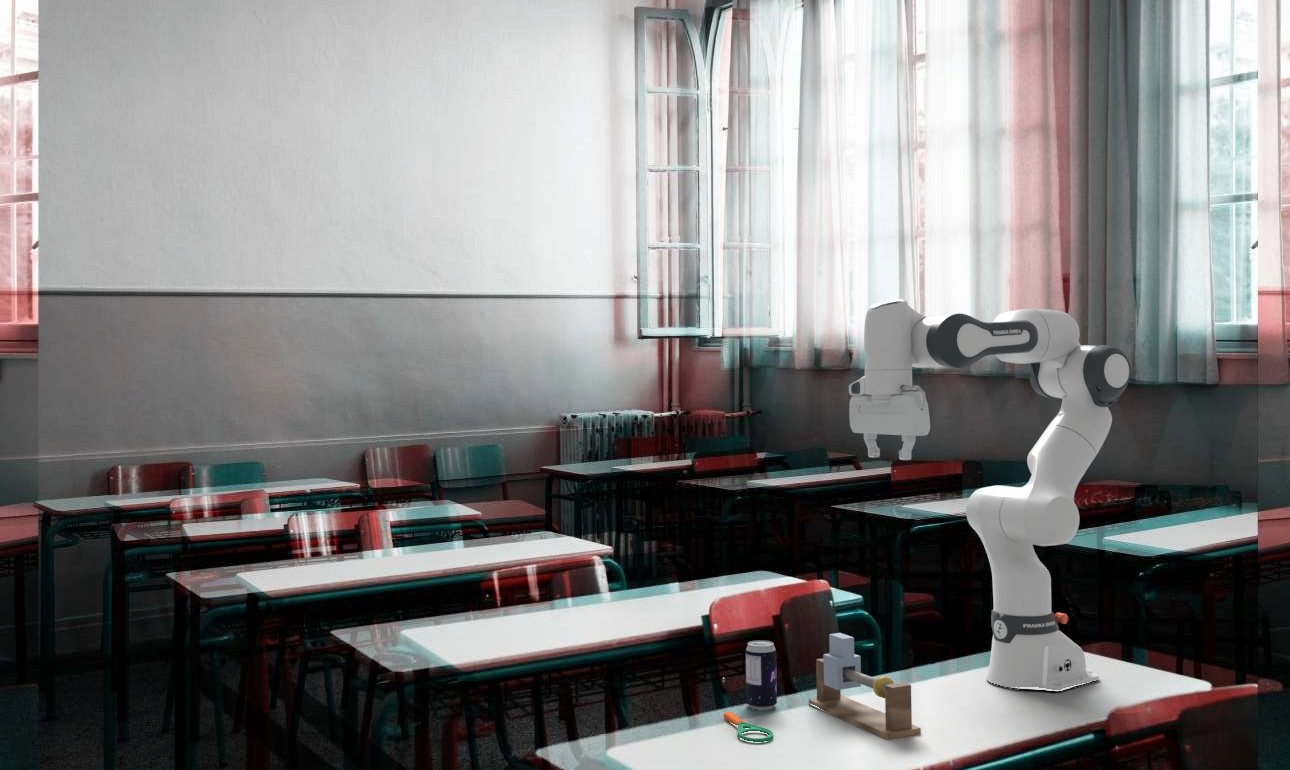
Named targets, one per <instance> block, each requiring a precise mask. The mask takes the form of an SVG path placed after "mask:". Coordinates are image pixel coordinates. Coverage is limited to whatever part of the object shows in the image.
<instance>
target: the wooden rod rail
mask: <svg viewBox="0 0 1290 770" xmlns="http://www.w3.org/2000/svg"><path fill="white" fill-rule="evenodd" d="M815 665H816V698H809V699H808V704H809V703H810V704H813V705H815V706H817V707H819V708H820V709H822V710H824V711H826V712H828V713H830V714H829V715H830V716H833V717H835V718H838V719H840V720H842V721H844V722H846V723H849V724H851V725H854V726H856V727H858V728H861V729H862V730H865V731H867V732H870V733H872V734H874V735H876V736H878V737H881V738H883V739H886V740H893V739H894V740H895V739H899V738H905V737H911V736H915V735H921V734H922V729H921V727H919V726H917V725H915V724H912V723H913V722H912V721H913V718H912V711H913V710H912V684H910V683H907V682H905V681H904V682H897V683H894V681H893V679H891V678H890V677H887V676H885V675H880V676H878V677H877V678H875V677H872V676H870V675H867V674H864V673H862V672H861V673H859V672H857V671H854V670H851V669H848V668H846V667H843V677H844V678H847V679H849V680H852V681H855V682H857V683H860V684H861V686H865V687H868V688H870V689H873V692H874V694H875V695H876V696H877V697H880V698H882V699H884V703H885V704H884V706H885V708H884V709H885V710H884V711H885V712H882V711H880V710H877V709H875V708H873V707H871V706H868V705H866V704H863V703H861V702H858V701H856V700H853V699H851V698H849V697H847V696H844V695H841V693H842V692H841V690H842V689H841V690H836V689H834V688H831V687H829V686H826V685H824V663H823V658H816V660H815ZM822 710H821V711H822ZM824 711H823V712H824ZM826 712H825V713H826ZM828 713H827V714H828Z"/></svg>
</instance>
